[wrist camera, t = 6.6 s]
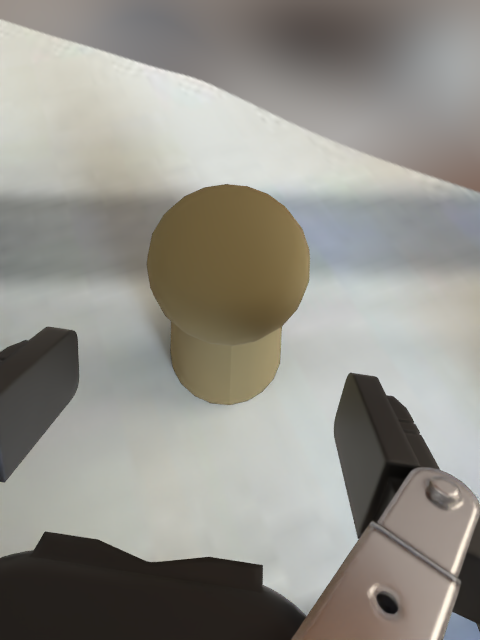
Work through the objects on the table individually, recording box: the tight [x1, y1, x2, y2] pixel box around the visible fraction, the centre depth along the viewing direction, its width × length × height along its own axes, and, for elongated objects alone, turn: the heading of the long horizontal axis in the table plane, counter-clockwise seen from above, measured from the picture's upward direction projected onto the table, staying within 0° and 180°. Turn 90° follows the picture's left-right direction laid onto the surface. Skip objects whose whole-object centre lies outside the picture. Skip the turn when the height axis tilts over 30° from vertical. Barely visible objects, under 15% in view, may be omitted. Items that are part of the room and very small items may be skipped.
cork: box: [147, 184, 310, 405], centre depth 16 cm, size 6×6×11 cm
